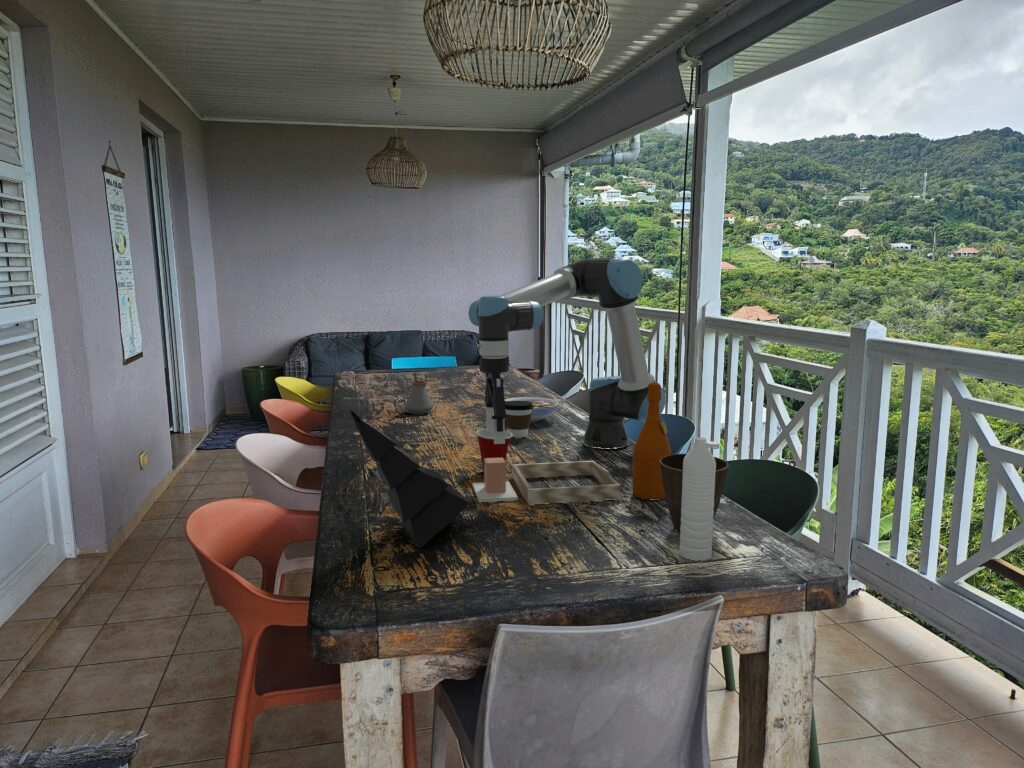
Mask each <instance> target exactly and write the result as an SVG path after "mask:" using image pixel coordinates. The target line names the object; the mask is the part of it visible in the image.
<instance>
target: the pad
mask: <svg viewBox="0 0 1024 768" xmlns="http://www.w3.org/2000/svg"><path fill="white" fill-rule="evenodd" d="M472 489H473V492H474V494H475V497H476V496H477V497H476V499H477V501H479V502H478V503H479V504H483V503H482V502H488V503H498V502H497V501H506V502H516V501H515V500H518V501H519V497H518V495H517V493H516V491H515V490H514V488H513V486H512V484H511V483H510V481H509V480H506V492H500V493H487V492H486V490H485V488H484V481H483V482H482V481H481V482H472Z"/></svg>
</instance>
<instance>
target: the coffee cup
mask: <svg viewBox="0 0 1024 768" xmlns="http://www.w3.org/2000/svg"><path fill="white" fill-rule="evenodd" d="M533 408H534V406H533V404H532V403H531V402H529V401H508V402H505V410H506V418H505V424H506V428H507V431H508V432H511V433H512V434H513V436H512V437H515V438H514V439H523V438H522V437H525V438H527V437H528V435H529V428H530V427H531V426H530V425H531V423H530V420H531V414H532V413H531V411H532V409H533ZM512 437H511V438H512Z"/></svg>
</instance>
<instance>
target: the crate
mask: <svg viewBox="0 0 1024 768" xmlns="http://www.w3.org/2000/svg"><path fill="white" fill-rule="evenodd" d="M588 474H592V475H593V476H594V477H595V478H596V479H597V480H598V481H599V482H600V483H601V484H602V485H601V484H600V483H599V482H598V481H597V480H596V479H595V478H594V477H593V476H592V475H591V476H592V477H593V478H594V479H595V480H596V481H597V482H598V483H599V484H597V485H596V484H595V485H577V486H576V485H575V486H560V487H558V486H556V487H555V486H554V487H540V488H539V487H538V488H532V487H531V486H530V484H529V482H528V481H527V480H526V479H540V478H539V477H544V478H560V477H559V476H564V477H578V476H577V475H583V476H589V475H588ZM511 478H512V481H513V482H514V483H515V484H514V485H516V487H517V489H518V490H519V492H520V493H522V494H521V495H522V497H523V496H524V497H523V498H525V499H524V500H525V502H526V501H527V502H526V503H528V504H529V505H528V504H527V505H528V506H531V505H530V504H542V503H563V504H570V503H569V502H580V503H585V502H584V501H594V500H606V499H618V498H619V499H620V500H621V489H622V488H621V486H622V485H621V484H620V483H619V482H618V481H617V480H615V479H614V478H613V476H612V475H610V474H609V473H608V472H607V471H606V470H605V469H603V468H602V467H601V466H600V465H599V464H598V463H597V462H596V461H595V460H580V461H579V460H578V461H574V460H573V461H560V462H559V461H557V462H555V461H554V462H539V463H538V462H537V463H536V462H534V463H517V464H515V463H514V464H513V463H512V464H511ZM567 502H568V503H567Z"/></svg>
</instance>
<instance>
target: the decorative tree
mask: <svg viewBox="0 0 1024 768" xmlns="http://www.w3.org/2000/svg"><path fill="white" fill-rule="evenodd" d="M349 412H350V415H351V417H352V419H353V420H354V424H355V426H356V429H357V431H358V433H359V435H360V437H361V440H362V442H363V444H364V447H365V449H366V450H367V452H368V453H369V456H370V458H371V459H372V460H373V461H374V462H376V463H375V464H376V466H377V469H378V472H379V474H380V475H381V477H382V479H383V480H384V482H385V483H386V485H387V487H388V491H389V498H390V505H391V507H392V509H393V511H394V512H395V513H396V514H397V515H398V516H399V517H400V519H401V521H402V528H403V529H404V531H406V532H407V535H408V536H409V539H410V540H411V539H412V540H413V541H414V542H415V543H414V542H413V541H412V540H411V541H412V542H413V543H414V544H415V546H416V545H417V546H418V547H417V546H416V547H417V548H418V549H419V548H420V549H421V548H422V547H424V546H425V544H427V543H428V542H429V541H430V540H431V539H432V538H433V537H435V536H436V535H437V534H440V535H446V534H447V533H449V532H450V531H451V529H453V526H454V523H453V522H452V521H453V520H454V519H455V518H456V517H457V516H458V515H459V514H460V513H462V511H464V510H465V509H466V508H467V507H468V506H469V505H470V504H471V502H470V501H469V500H468V499H467V498H466V497H465V496H464V495H463V494H462V493H461V492H459V491H458V490H456V488H454V487H453V485H452V484H450V483H448V482H447V481H446V480H445V479H444V478H443V476H442V475H440V473H439V472H437V471H436V470H434V469H432V468H428V467H426V466H421V465H420V464H418V462H417V461H416V459H415V457H414V456H413V455H411V454H409V453H408V452H406V451H404V450H402V449H400V448H399V447H396V446H397V443H396V442H395V441H394V440H392V439H391V438H390V437H389V436H388V435H386V434H385V433H384V432H383V431H381V430H379V429H377V428H376V427H375V426H374V425H372V424H371V423H369V422H366V421H365V420H363V419H362V418H361V417H360V416H359V415H358V414H357V413H355V412H354V411H353V410H349Z"/></svg>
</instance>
